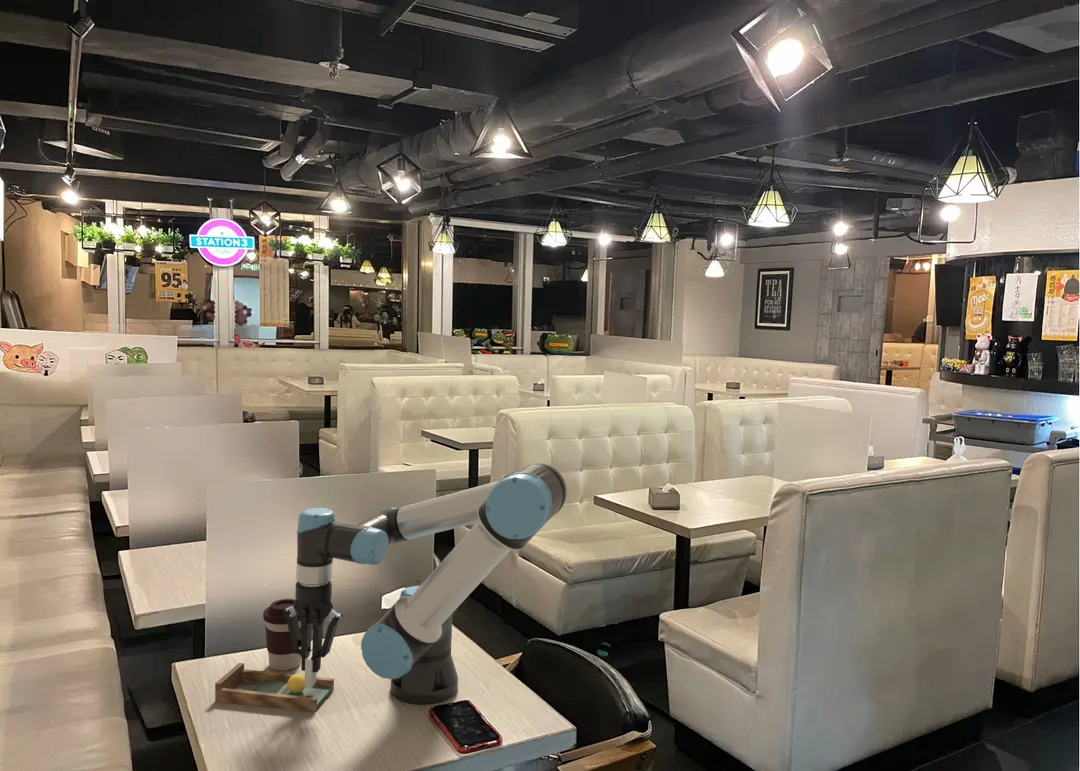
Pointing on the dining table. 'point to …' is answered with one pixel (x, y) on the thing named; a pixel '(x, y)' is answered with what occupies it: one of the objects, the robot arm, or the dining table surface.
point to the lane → (271, 690)
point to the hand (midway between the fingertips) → (310, 684)
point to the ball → (296, 683)
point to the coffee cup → (280, 636)
